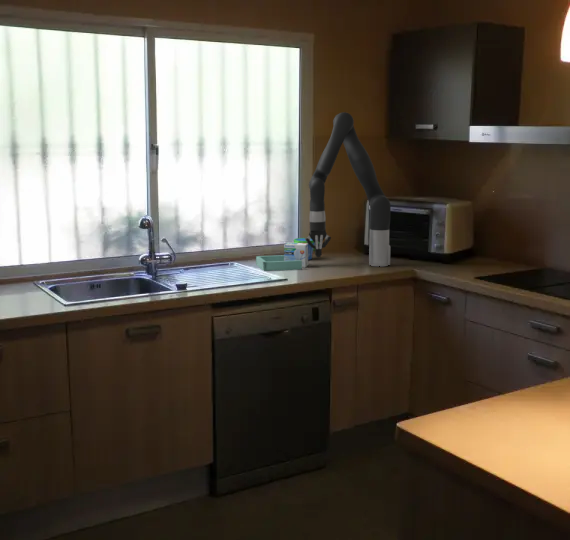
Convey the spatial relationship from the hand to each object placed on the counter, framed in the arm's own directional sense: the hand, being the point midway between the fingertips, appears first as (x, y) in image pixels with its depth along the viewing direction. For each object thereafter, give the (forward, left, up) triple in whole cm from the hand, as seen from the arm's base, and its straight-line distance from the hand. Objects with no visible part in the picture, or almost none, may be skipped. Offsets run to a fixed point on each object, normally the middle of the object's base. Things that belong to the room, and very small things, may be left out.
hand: (318, 256), depth 360 cm
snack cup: (+2, -18, -4) cm, 19 cm away
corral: (+19, 0, -4) cm, 20 cm away
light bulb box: (+11, 0, -4) cm, 12 cm away
